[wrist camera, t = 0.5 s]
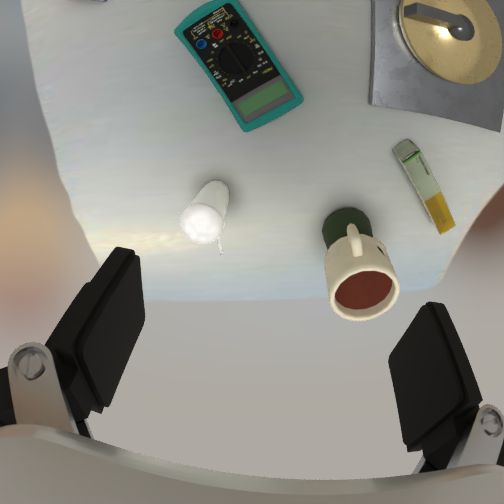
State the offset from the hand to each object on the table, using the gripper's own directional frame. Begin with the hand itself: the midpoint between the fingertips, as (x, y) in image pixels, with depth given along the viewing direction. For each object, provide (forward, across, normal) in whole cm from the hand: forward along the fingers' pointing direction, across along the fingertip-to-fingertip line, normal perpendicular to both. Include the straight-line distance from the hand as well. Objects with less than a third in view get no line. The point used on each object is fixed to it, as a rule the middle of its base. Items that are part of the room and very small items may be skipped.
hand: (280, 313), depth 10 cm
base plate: (+28, -16, -17) cm, 36 cm away
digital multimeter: (+29, +6, -7) cm, 30 cm away
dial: (+26, -16, -17) cm, 35 cm away
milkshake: (+28, +6, +10) cm, 31 cm away
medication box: (+28, -18, +2) cm, 34 cm away
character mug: (+28, -10, +11) cm, 32 cm away
